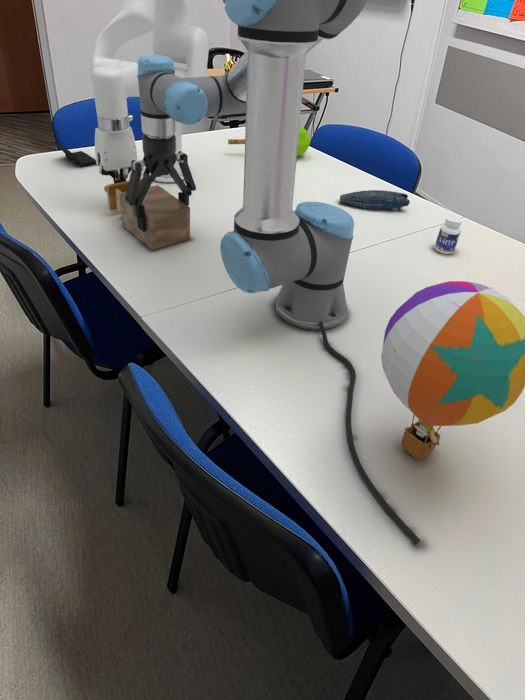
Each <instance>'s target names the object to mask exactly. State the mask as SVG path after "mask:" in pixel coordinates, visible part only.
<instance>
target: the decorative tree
mask: <svg viewBox="0 0 525 700" xmlns="http://www.w3.org/2000/svg"><path fill="white" fill-rule="evenodd" d="M227 144H228V145H245V138H244V139H243V138H241V139H239V138H237V139H236V138H235V139H233V138H230V139H227ZM310 145H311V136H310V133H309V132H308V131H307V130H306V129H305V128H304V127H303V126H302V125H300V126H299V138H298V149H297V157H300V156H302V155H305V154H306V153H307V151H308V148H309V147H310Z"/></svg>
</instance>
